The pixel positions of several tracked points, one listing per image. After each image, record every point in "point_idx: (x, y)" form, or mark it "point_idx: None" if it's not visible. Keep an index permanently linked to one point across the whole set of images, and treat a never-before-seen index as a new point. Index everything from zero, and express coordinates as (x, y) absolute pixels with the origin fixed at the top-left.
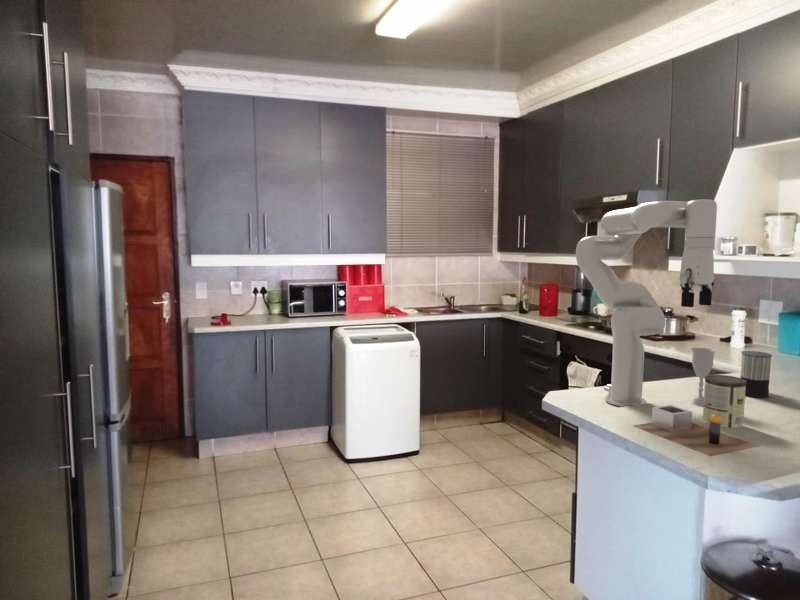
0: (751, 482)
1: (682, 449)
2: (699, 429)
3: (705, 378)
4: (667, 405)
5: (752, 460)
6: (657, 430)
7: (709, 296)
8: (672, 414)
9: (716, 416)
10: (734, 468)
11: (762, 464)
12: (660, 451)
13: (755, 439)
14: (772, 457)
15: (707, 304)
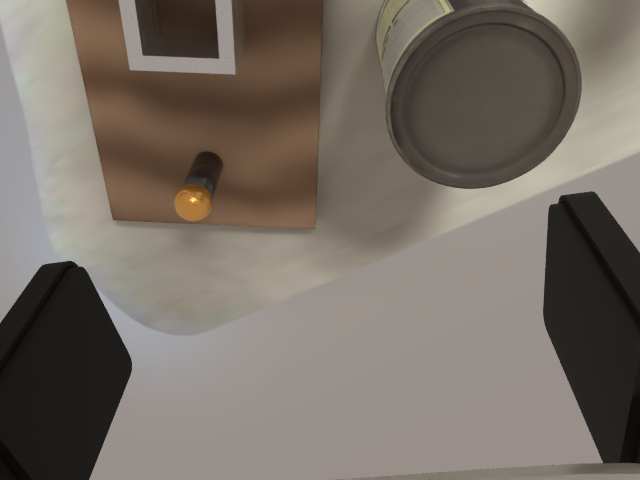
0: (118, 303)
1: None
2: (277, 63)
3: (412, 44)
4: None
5: (237, 243)
6: (113, 3)
7: (584, 414)
8: (129, 63)
9: (183, 217)
10: (146, 253)
11: (236, 264)
12: (32, 107)
13: None
14: (306, 251)
15: (548, 303)
